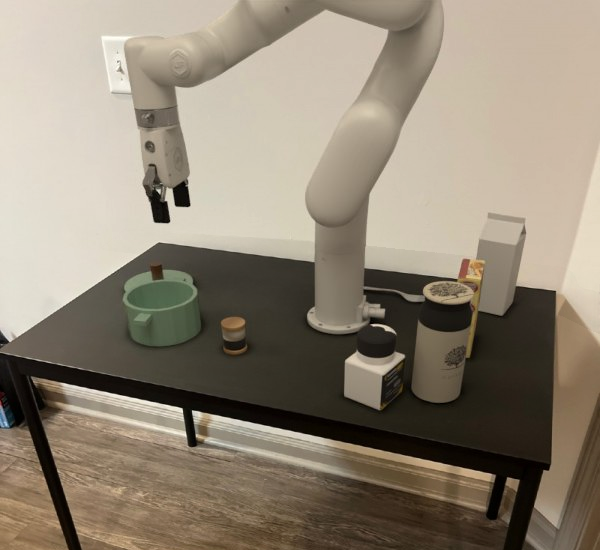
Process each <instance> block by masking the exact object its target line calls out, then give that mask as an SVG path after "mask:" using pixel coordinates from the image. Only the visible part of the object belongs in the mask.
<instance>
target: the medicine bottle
mask: <svg viewBox="0 0 600 550" xmlns="http://www.w3.org/2000/svg"><path fill="white" fill-rule="evenodd" d="M356 333H357V335H356V351H355V352H354V353H353V354H351V355H350V356H348V358H346V359H345V361H344V380H343V381H344V382H343V383H344V384H343V395H344V398H347V399H349V400H351V401H355V402H357V403H359V404H361V405H365V406H367V407H369V408H372V409H375V410H376V411H382V410H383V409H384V408H385V407H387V405H389V404H390V403H391V402H392V401H393V400H394V399H395V398H396V397H397V396H399V395H400V394H401V393H402V392H403V385H404V376H405V375H404V374H405V366H406V365H405V364H406V355H405V354H403V353H400V352H397V351H396V345H397V332H396V331H395V330H394V329H393V328H392V327H390V326H388V325H385V324H380V323H373V324H368V325H366V326H364V327H362V328H361V329H360V330H359V331H357V332H356Z"/></svg>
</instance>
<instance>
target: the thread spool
mask: <svg viewBox="0 0 600 550" xmlns="http://www.w3.org/2000/svg"><path fill="white" fill-rule="evenodd" d="M220 328H221V332H222V341H223V343H222V344H223V346H222V347H223V352H224V353H225V354H227V355H230V356H236V355H237V356H238V355H242V354H244V353H246V352H247V350H248V345H247V336H246V334H247V333H246V320H245V319H244V318H242V317H240V316H230V317H225V318H223V319H222V320H221V321H220Z"/></svg>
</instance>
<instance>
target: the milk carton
mask: <svg viewBox="0 0 600 550" xmlns="http://www.w3.org/2000/svg"><path fill="white" fill-rule="evenodd" d="M526 237H527V230H526V217H520V216H514V215H508V214H502V213H495V212H487V218H486V220H485V222H484V225H483V227H482V230H481V233H480V235H479V238H478V245H477V251H476V256H475V260H483V261H485V266H484V274H483V282H482V289H481V296H480V303H479V309H478V312H483V313H487V314H491V315H496V316H499V317H500V316H501V317H502V316H504V315H505V314H506V312H507V311H508V309H509V308H510V307H511V305H512V304H513V302H514V297H515V292H516V287H517V283H518V278H519V272H520V268H521V262H522V257H523V252H524V247H525V242H526V239H527V238H526Z"/></svg>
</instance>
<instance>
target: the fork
mask: <svg viewBox="0 0 600 550" xmlns="http://www.w3.org/2000/svg"><path fill="white" fill-rule="evenodd" d="M365 290H366V291H377V292H378V291H379V292H381V291H382V292H392V293H397V294H399V295H401V297H402V298H404V299H405V300H406V301H408V302H412V303H423V302H424V301H425V296H424V295H418V294H408V293H405V292H402V291H400V290H396V289H390V288H381V287H380V288H379V287H373V286H365V285H364V289H363V291H365Z"/></svg>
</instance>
